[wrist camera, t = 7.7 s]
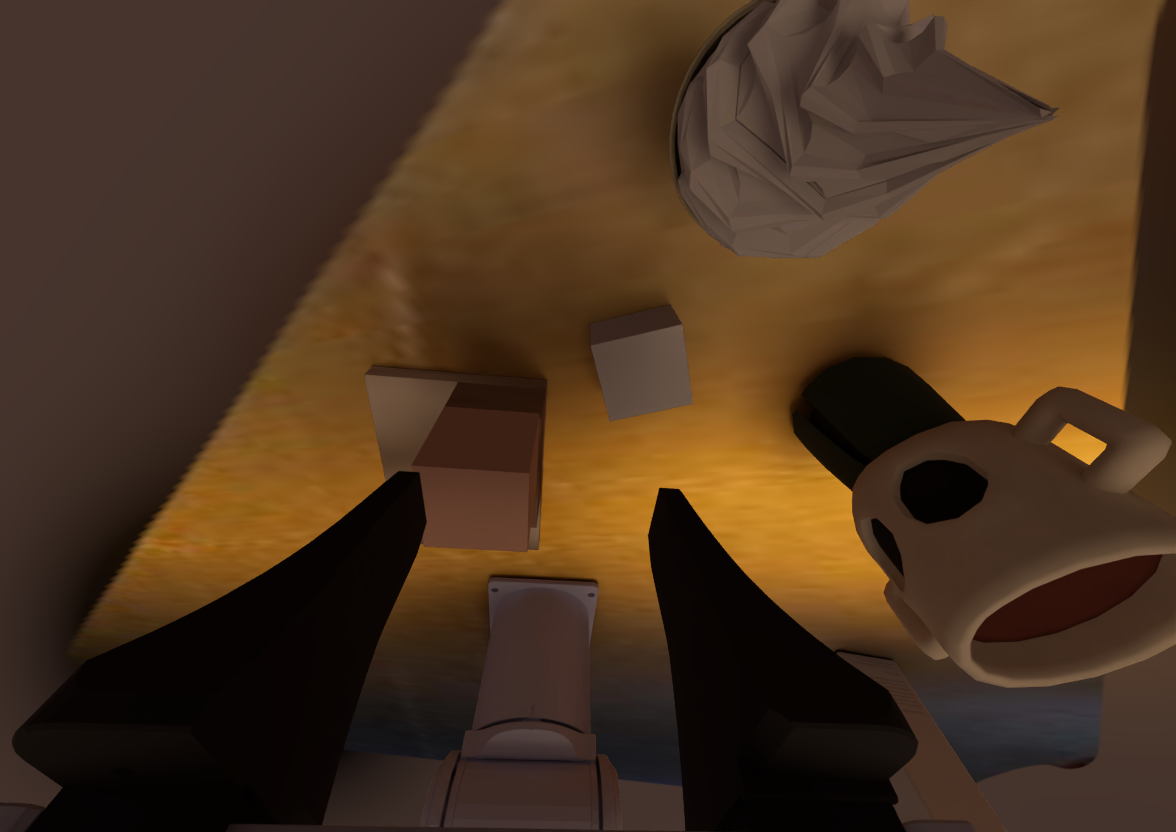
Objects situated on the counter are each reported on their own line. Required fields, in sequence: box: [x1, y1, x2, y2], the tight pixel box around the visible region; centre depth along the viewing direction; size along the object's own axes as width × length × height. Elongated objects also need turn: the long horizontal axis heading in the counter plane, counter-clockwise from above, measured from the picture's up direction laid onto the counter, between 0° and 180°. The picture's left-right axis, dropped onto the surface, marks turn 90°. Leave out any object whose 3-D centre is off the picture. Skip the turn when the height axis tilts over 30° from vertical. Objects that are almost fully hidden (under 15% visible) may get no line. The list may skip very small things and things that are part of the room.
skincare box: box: [836, 652, 1007, 832], centre depth 32 cm, size 6×4×12 cm
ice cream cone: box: [669, 0, 1059, 258], centre depth 10 cm, size 5×5×15 cm
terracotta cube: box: [411, 406, 539, 552], centre depth 18 cm, size 4×4×4 cm
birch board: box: [364, 366, 547, 550], centre depth 25 cm, size 12×9×1 cm
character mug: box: [793, 357, 1176, 688], centre depth 18 cm, size 11×7×13 cm, turn 171°
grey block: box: [590, 304, 693, 421], centre depth 20 cm, size 4×4×3 cm
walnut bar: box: [445, 382, 546, 528], centre depth 22 cm, size 7×4×3 cm, turn 175°
